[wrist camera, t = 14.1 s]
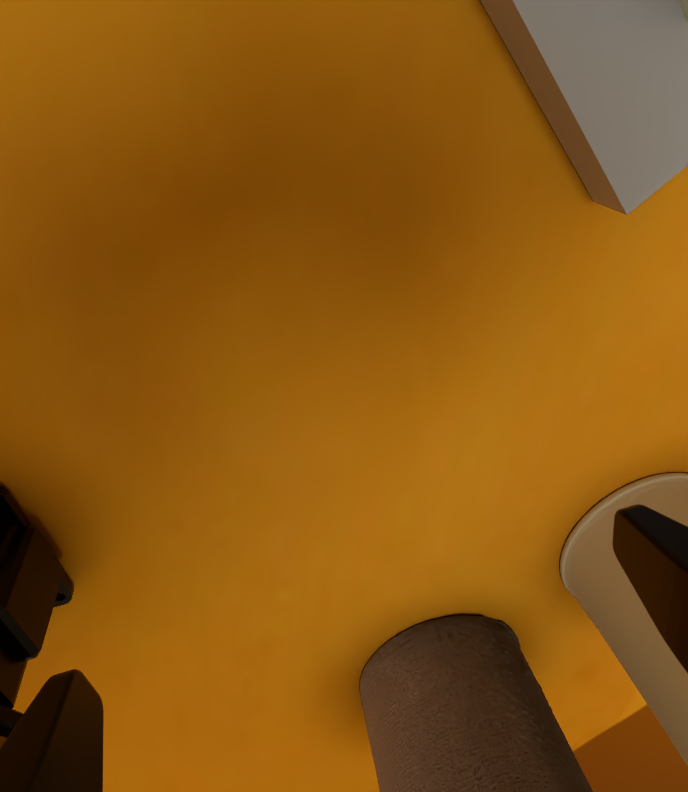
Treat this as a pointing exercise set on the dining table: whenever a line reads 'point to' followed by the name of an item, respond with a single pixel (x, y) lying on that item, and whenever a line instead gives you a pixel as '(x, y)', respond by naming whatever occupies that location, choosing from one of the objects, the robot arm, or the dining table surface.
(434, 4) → the dining table surface
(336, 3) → the dining table surface
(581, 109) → the tile
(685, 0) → the pale green square pillar
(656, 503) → the can
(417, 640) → the pillar candle
